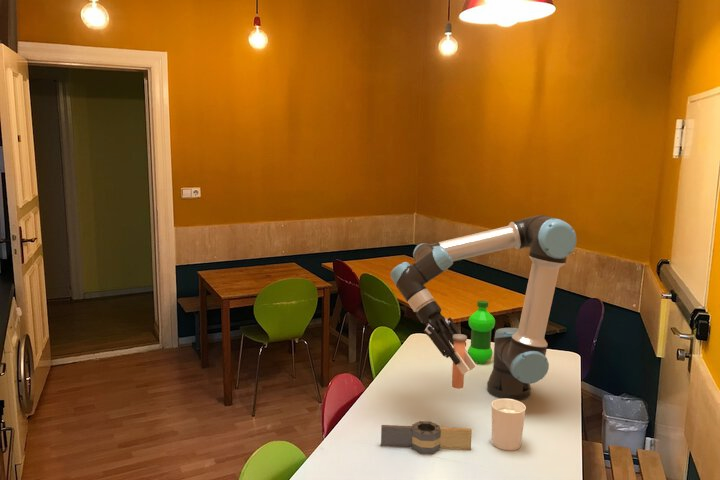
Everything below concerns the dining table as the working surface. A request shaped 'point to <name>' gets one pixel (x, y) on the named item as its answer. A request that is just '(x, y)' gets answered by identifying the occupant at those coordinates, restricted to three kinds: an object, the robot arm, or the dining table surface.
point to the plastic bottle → (481, 334)
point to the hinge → (426, 437)
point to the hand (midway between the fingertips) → (469, 370)
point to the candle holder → (507, 423)
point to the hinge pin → (460, 348)
